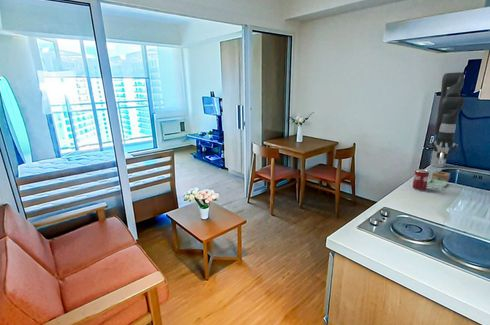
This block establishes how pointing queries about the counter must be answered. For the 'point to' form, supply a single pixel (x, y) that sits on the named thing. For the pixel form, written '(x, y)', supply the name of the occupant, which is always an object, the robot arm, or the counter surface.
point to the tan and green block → (441, 176)
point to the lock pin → (441, 158)
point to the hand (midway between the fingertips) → (441, 158)
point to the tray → (437, 184)
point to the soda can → (420, 179)
